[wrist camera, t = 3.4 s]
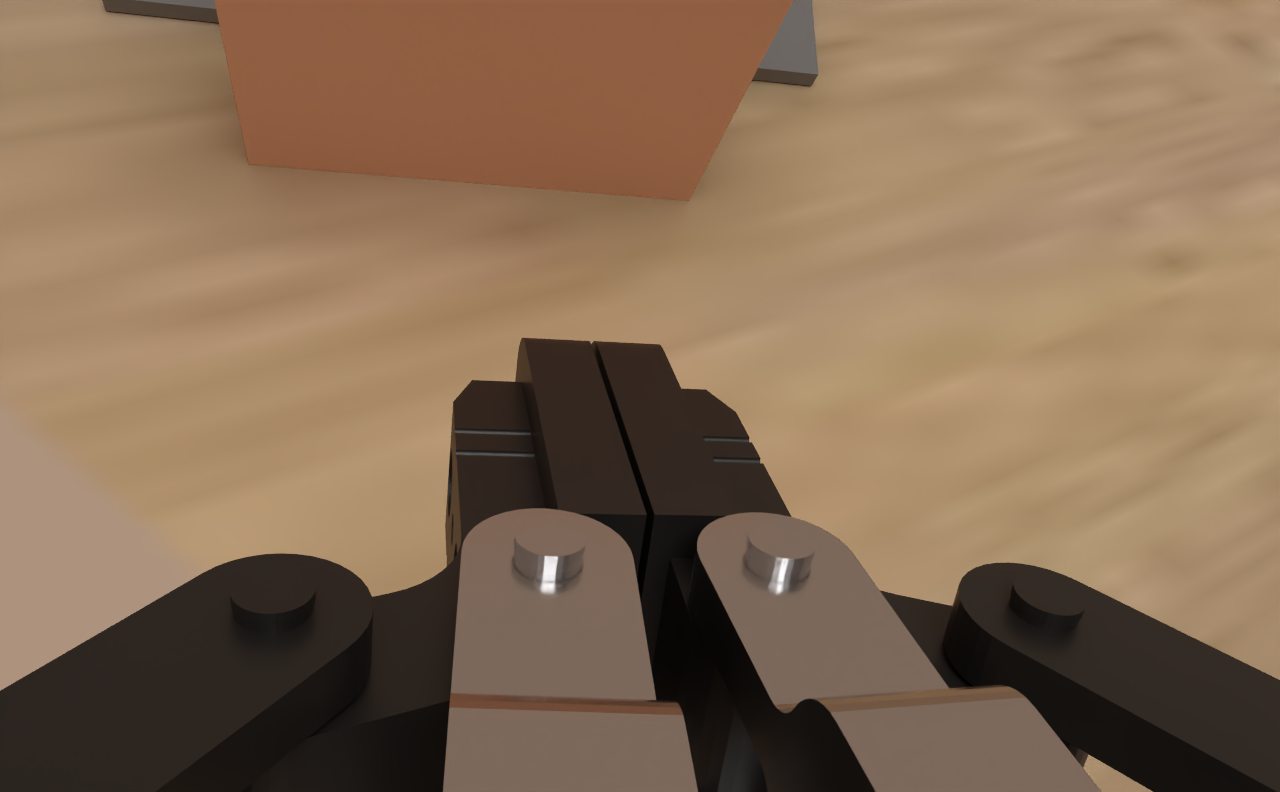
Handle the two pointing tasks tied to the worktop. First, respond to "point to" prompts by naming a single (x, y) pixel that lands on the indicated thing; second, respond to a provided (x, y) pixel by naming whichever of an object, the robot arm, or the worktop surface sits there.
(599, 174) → the tile
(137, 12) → the mat
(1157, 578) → the worktop surface
